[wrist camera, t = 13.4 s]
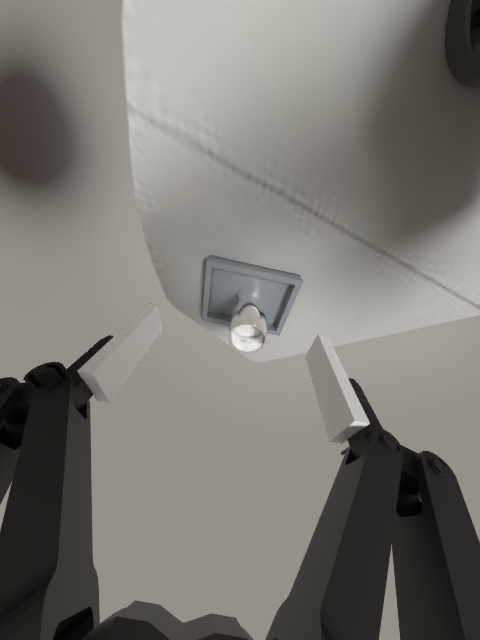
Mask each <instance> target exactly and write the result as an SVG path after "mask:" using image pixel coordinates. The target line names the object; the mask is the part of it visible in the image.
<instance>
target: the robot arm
mask: <svg viewBox="0 0 480 640" xmlns="http://www.w3.org/2000/svg"><path fill="white" fill-rule="evenodd" d="M446 55H447V60H448V64H449V67H450V69H451V71H452V73H453V75H454V76H455V77H456V79H457V80H458V81H460V82H461V83H463V84H465V85H467V86H471V87H480V0H452V3H451V7H450V12H449V17H448V22H447V30H446ZM162 331H163V329H162V323H161V316H160V310H159V305H156V304H150V303H149V304H148V305H147V306H146V307H145V308H144V309H143V310H142V311H141V312H140V313H139V314H138V315H137V316H136V317H134V318H133V319H132V320H131V321H130V322H129V323H128V324H127V325H126V326H125V327H124V328H123V329H122V330H120V331H119V332H118V333H117V334H116V335H115V336H107V337H105V338H103V339H101V340H100V341H98V342H97V343H96V344H95V345H94V346H93V347H92V348H90V349H89V350H88V352H86V353H85V354H84V355H82V356H81V357H80V358H79V359H78V360H77V361H76V362H74V363H73V364H72V365H71V366H70V367H69V368H68V369H66V368H65V367H64V366H63V364H61V363H59V362H50V363H45V364H43V365H40V366H38V367H36V368H34V369H32V370H31V371H30V372H29V373H27V374H26V376H25V377H24V380H25V381H26V383H20V382H19V381H18V380H17V379H15V378H12V377H8V378H2V379H0V504H1V502H2V500H3V498H4V496H5V494H6V492H7V490H8V488H9V486H10V484H11V482H12V484H11V489H10V493H9V497H8V501H7V506H6V510H5V514H4V518H3V522H2V527H1V531H0V640H253V639H252V638H251V636H250V635H249V634H248V633H247V632H246V631H245V630H244V629H243V628H242V627H241V626H240V625H239V623H238V621H237V619H236V618H233V617H227V616H222V615H217V614H209V615H206V616H203V617H200V618H197V619H194V620H191V621H189V622H185V623H183V622H181V621H179V620H178V619H177V618H176V617H174V616H173V615H172V614H171V613H169V612H168V611H167V610H166V609H164V608H163V607H162V606H161V605H157V604H152V603H146V602H140V601H134V602H133V603H132V604H131V605H130V606H128V607H127V608H123V609H121V610H120V611H118V612H116V613H114V614H112V615H111V616H110V617H108V618H107V619H106V620H104V621H103V622H102V623H100V617H99V586H98V577H97V572H96V570H95V568H94V565H93V557H92V501H91V500H92V495H91V436H90V435H91V434H90V433H91V432H90V402H89V399H90V398H91V397H92V396H93V395H94V397H95V398H96V400H99V401H105V402H110V401H111V400H112V399H113V397H114V396H115V394H116V393H117V392H118V391H119V389H120V388H121V387H122V385H123V384H124V383H125V381H126V380H127V379H128V377H129V376H130V374H131V373H132V372H133V370H134V369H135V368H136V366H137V365H138V364H139V362H140V361H141V360H142V358H143V357H144V356H145V354H146V353H147V351H148V350H149V349H150V348H151V346H152V345H153V344H154V342H155V341H156V339H157V338H158V337H159V335H160V334H161V333H162ZM306 360H307V364H308V368H309V371H310V375H311V378H312V382H313V386H314V389H315V393H316V396H317V399H318V403H319V407H320V410H321V414H322V417H323V421H324V424H325V428H326V432H327V435H328V439H329V442H335V443H341V444H342V443H344V442H345V441H346V440H348V442H349V445H350V446H349V447H348V448H346V449H345V450H343V451H342V452H341V454H342V455H343V454H345V456H344V459H343V461H342V463H341V466H340V468H339V471H338V474H337V476H336V478H335V481H334V484H333V486H332V489H331V492H330V494H329V496H328V499H327V501H326V504H325V506H324V509H323V511H322V514H321V517H320V519H319V522H318V524H317V527H316V529H315V532H314V534H313V537H312V539H311V542H310V544H309V547H308V549H307V552H306V554H305V557H304V559H303V562H302V564H301V567H300V570H299V572H298V574H297V577H296V580H295V582H294V585H293V587H292V590H291V592H290V594H289V596H288V598H287V599H286V600H285V601H284V602H283V604H282V605H281V607H280V608H279V610H278V611H277V614H276V616H275V618H274V620H273V623H272V625H271V628H270V630H269V633H268V635H267V638H266V640H379V632H380V626H381V618H382V610H383V603H384V596H385V588H386V581H387V573H388V566H389V557H390V551H391V543H392V551H393V562H394V573H395V585H396V596H397V607H398V618H399V629H400V639H401V640H480V542H479V539H478V537H477V535H476V531H475V528H474V526H473V523H472V520H471V517H470V514H469V512H468V509H467V506H466V503H465V501H464V498H463V495H462V492H461V489H460V487H459V484H458V481H457V479H456V476H455V475H454V473H453V471H452V470H451V469H450V467H449V466H448V465H447V464H446V463H445V462H444V461H443V460H442V459H441V458H440V457H438V456H437V455H435V454H434V453H431V452H429V451H422V452H420V453H416V452H414V451H412V450H410V449H408V448H406V447H404V446H402V445H400V444H399V442H398V441H397V440H396V438H395V437H394V436H393V435H391V434H390V433H389V432H387V431H386V430H383V428H382V426H381V425H380V423H379V421H378V419H377V417H376V415H375V414H374V411H373V410H372V408H371V406H370V404H369V403H368V400H367V398H366V397H365V396H364V393H363V391H362V389H361V387H360V386H359V385H358V383H356V381H355V380H354V379H350V378H348V377H347V375H346V373H345V371H344V369H343V367H342V365H341V363H340V361H339V359H338V357H337V355H336V353H335V350H334V348H333V346H332V344H331V342H330V340H329V338H328V336H326V335H320V334H318V335H317V337H316V339H315V340H314V342H313V344H312V346H311V348H310V349H309V351H308V353H307V355H306Z"/></svg>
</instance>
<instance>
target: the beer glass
mask: <svg viewBox="0 0 480 640" xmlns="http://www.w3.org/2000/svg"><path fill="white" fill-rule="evenodd" d="M262 300H263V296H262V293H261V291H260V290H259V289H258V288H256V287H254V286H246V287H244V288H242V289H241V290H240V291H239V292H238V295H237V302H238V303H237V305H236V307H235V308H234V310H233V312H232V315H231V318H230V322H229V330H228V342H229V344H230V345H231V346H232V347H233V348H234V349H235V350H237V351H240V352H243V353H253V352H257V351H259V350H260V349H262V348H263V347H264V346H265V344H266V342H267V320H266V315H265V312H264V310H263V307H262V305H261V304H262Z"/></svg>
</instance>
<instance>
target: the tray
mask: <svg viewBox="0 0 480 640" xmlns="http://www.w3.org/2000/svg"><path fill="white" fill-rule="evenodd" d="M302 283H303V280H302V278H301V277H300V275H297V274H292V273H288V272H283V271H279V270H274V269H270V268H265V267H261V266H256V265H252V264H247V263H243V262H238V261H234V260H229V259H225V258H220V257H216V256H211V255H210V256H209V257H208V259H207V260H206V271H205V285H204V298H203V311H202V320H205V321H210V322H215V323H219V324H224V325H229V322H230V318H231V315H232V312H233V310H234V308H235V307H236V305H237V303H238V302H237V295H238V292H239V291H240V290H241V289H242V288H244V287H246V286H254V287H256V288H258V289H259V290H260V291H261V293H262V296H263V300H262V304H261V305H262V307H263V310H264V312H265V315H266V320H267V333H269V334H274V335H280V333H281V331H282V328H283V326H284V324H285V321H286V319H287V317H288V315H289V312H290V310H291V308H292V305H293V303H294V301H295V299H296V296H297V294H298V292H299V289H300V287H301V285H302Z"/></svg>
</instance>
